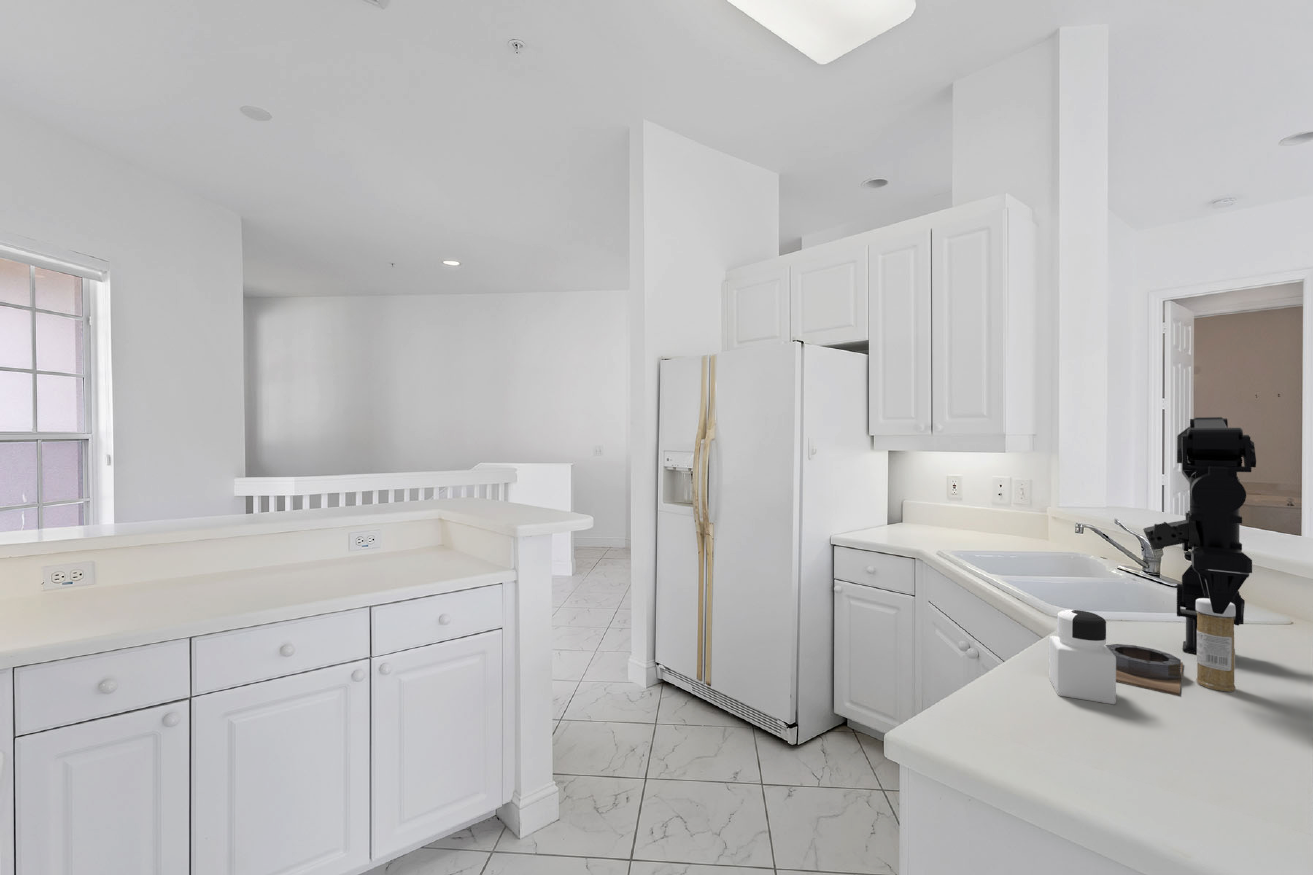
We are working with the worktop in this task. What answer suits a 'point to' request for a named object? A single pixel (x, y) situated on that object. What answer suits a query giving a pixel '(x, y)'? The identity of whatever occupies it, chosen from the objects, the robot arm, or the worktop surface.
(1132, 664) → the iron collar
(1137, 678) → the walnut board
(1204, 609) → the sprinkles bottle
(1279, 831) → the worktop surface
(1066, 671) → the medicine bottle
